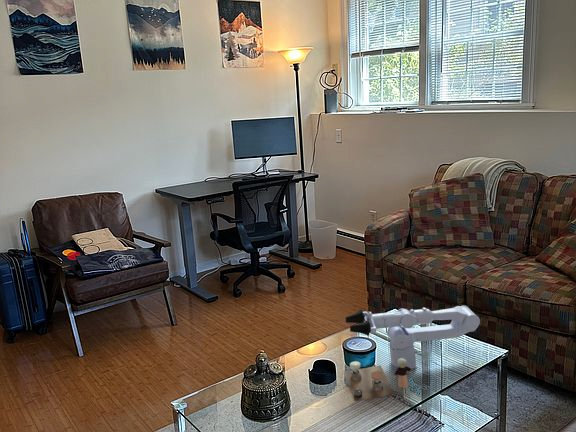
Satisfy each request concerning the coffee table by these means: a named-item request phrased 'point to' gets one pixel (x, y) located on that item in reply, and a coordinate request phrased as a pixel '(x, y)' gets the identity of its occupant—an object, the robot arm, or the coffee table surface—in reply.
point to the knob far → (355, 366)
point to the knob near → (376, 376)
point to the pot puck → (358, 393)
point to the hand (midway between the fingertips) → (347, 324)
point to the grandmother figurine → (402, 373)
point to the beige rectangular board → (368, 383)
